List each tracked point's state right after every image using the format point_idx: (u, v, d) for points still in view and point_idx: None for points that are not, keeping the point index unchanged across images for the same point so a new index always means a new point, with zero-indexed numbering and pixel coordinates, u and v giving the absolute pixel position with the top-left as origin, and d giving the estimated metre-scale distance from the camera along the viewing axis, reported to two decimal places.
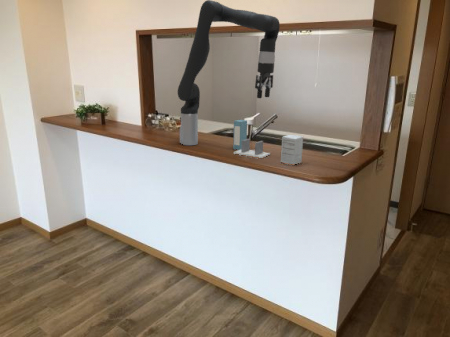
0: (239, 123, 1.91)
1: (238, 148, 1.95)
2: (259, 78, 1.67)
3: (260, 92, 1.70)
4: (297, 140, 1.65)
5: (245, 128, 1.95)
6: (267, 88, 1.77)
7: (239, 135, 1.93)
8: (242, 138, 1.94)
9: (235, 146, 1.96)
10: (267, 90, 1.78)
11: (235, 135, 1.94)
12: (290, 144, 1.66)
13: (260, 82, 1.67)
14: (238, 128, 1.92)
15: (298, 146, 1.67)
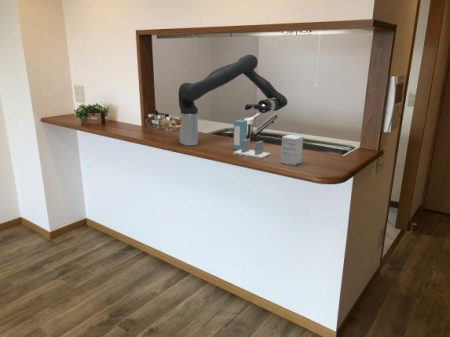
0: (239, 123, 1.91)
1: (238, 148, 1.95)
2: (271, 109, 2.06)
3: (262, 110, 2.02)
4: (297, 140, 1.65)
5: (245, 128, 1.95)
6: (249, 107, 2.07)
7: (239, 135, 1.93)
8: (242, 138, 1.94)
9: (235, 146, 1.96)
10: (249, 107, 2.07)
11: (235, 135, 1.94)
12: (290, 144, 1.66)
13: (269, 110, 2.04)
14: (238, 128, 1.92)
15: (298, 146, 1.67)
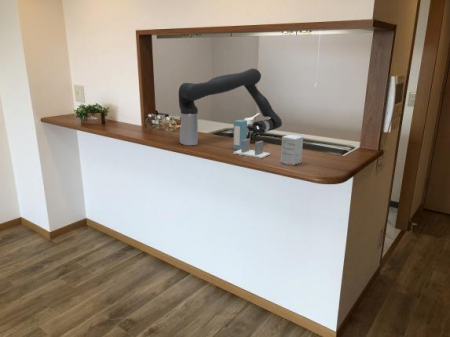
0: (239, 123, 1.91)
1: (238, 148, 1.95)
2: (265, 131, 2.05)
3: (257, 132, 2.01)
4: (297, 140, 1.65)
5: (245, 128, 1.95)
6: None
7: (239, 135, 1.93)
8: (242, 138, 1.94)
9: (235, 146, 1.96)
10: None
11: (235, 135, 1.94)
12: (290, 144, 1.66)
13: (263, 132, 2.04)
14: (238, 128, 1.92)
15: (298, 146, 1.67)
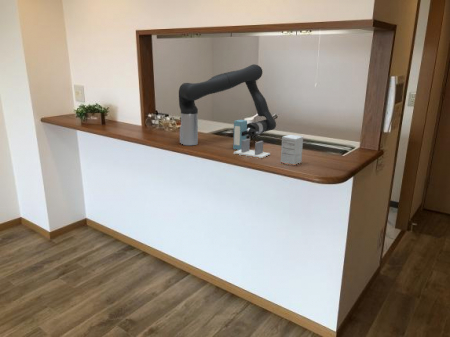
0: (239, 123, 1.91)
1: (238, 148, 1.95)
2: (256, 133, 1.98)
3: (245, 134, 1.95)
4: (297, 140, 1.65)
5: (245, 128, 1.95)
6: None
7: (239, 135, 1.93)
8: (242, 138, 1.94)
9: (235, 146, 1.96)
10: None
11: (235, 135, 1.94)
12: (290, 144, 1.66)
13: (254, 135, 1.97)
14: (238, 128, 1.92)
15: (298, 146, 1.67)
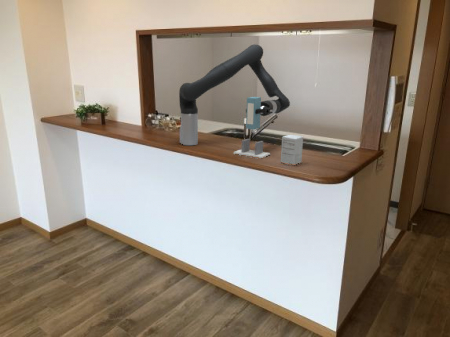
0: (253, 100, 1.76)
1: (251, 127, 1.80)
2: (271, 111, 1.82)
3: (259, 112, 1.79)
4: (297, 140, 1.65)
5: (259, 106, 1.80)
6: None
7: (253, 113, 1.77)
8: (256, 116, 1.79)
9: (248, 126, 1.80)
10: None
11: (248, 113, 1.78)
12: (290, 144, 1.66)
13: (268, 113, 1.81)
14: (252, 105, 1.76)
15: (298, 146, 1.67)
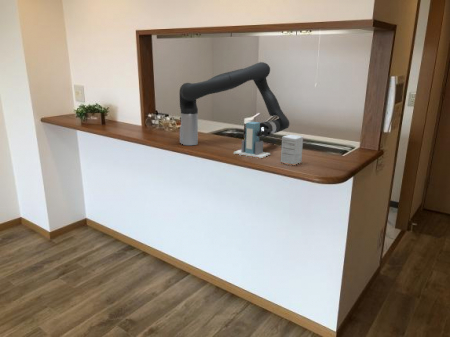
0: (252, 125, 1.78)
1: (250, 152, 1.82)
2: (271, 133, 1.85)
3: (261, 135, 1.81)
4: (297, 140, 1.65)
5: (258, 130, 1.82)
6: None
7: (252, 138, 1.80)
8: (255, 141, 1.81)
9: (247, 150, 1.83)
10: None
11: (247, 138, 1.81)
12: (290, 144, 1.66)
13: None
14: (251, 131, 1.79)
15: (298, 146, 1.67)
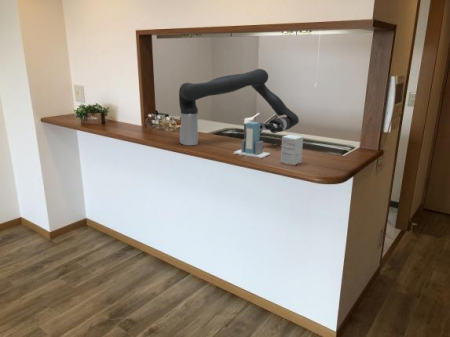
0: (252, 125, 1.78)
1: (250, 152, 1.82)
2: (283, 129, 1.96)
3: (274, 131, 1.92)
4: (297, 140, 1.65)
5: (258, 131, 1.82)
6: (260, 127, 1.97)
7: (252, 138, 1.80)
8: (255, 141, 1.81)
9: (247, 150, 1.83)
10: (260, 127, 1.97)
11: (247, 138, 1.81)
12: (290, 144, 1.66)
13: (281, 131, 1.95)
14: (251, 131, 1.79)
15: (298, 146, 1.67)
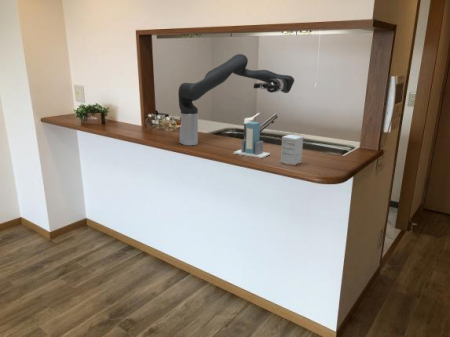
0: (252, 125, 1.78)
1: (250, 152, 1.82)
2: (280, 87, 2.02)
3: (271, 88, 1.98)
4: (297, 140, 1.65)
5: (258, 131, 1.82)
6: (258, 85, 2.04)
7: (252, 138, 1.80)
8: (255, 141, 1.81)
9: (247, 150, 1.83)
10: (257, 86, 2.03)
11: (247, 138, 1.81)
12: (290, 144, 1.66)
13: (278, 89, 2.01)
14: (251, 131, 1.79)
15: (298, 146, 1.67)
